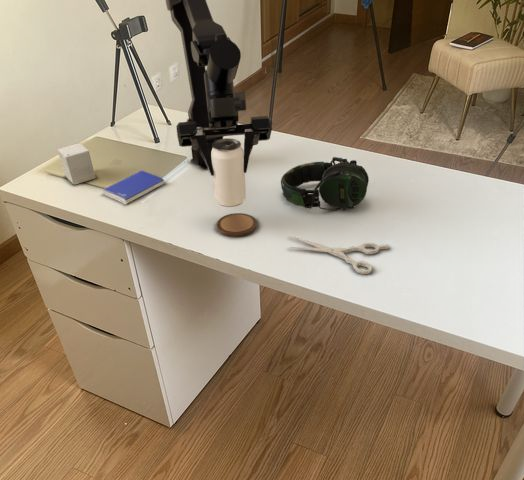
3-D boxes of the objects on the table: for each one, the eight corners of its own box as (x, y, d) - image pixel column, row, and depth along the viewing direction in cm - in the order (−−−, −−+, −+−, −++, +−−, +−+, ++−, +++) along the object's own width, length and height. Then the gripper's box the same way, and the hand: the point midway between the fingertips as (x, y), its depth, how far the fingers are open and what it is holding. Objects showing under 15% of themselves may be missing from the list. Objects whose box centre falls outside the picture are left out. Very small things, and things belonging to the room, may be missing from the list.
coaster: (240, 212, 121) (240, 208, 121) (265, 227, 116) (265, 223, 116) (209, 225, 117) (208, 222, 117) (233, 242, 112) (233, 238, 112)
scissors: (377, 273, 102) (279, 253, 107) (377, 277, 102) (279, 256, 108) (389, 244, 109) (296, 227, 114) (388, 247, 109) (296, 230, 115)
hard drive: (125, 198, 124) (163, 178, 131) (102, 188, 128) (141, 169, 134) (126, 204, 125) (164, 184, 132) (104, 194, 129) (142, 175, 136)
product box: (96, 178, 135) (89, 150, 130) (73, 185, 132) (65, 157, 127) (87, 170, 139) (80, 142, 133) (65, 176, 136) (56, 148, 131)
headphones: (371, 161, 125) (289, 167, 131) (366, 138, 112) (275, 146, 118) (369, 218, 125) (287, 221, 130) (364, 201, 112) (273, 206, 118)
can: (250, 194, 114) (247, 139, 105) (239, 209, 110) (235, 153, 101) (222, 190, 115) (217, 135, 107) (210, 205, 111) (204, 149, 103)
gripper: (170, 79, 98) (179, 163, 98) (270, 72, 100) (278, 155, 100) (175, 107, 109) (183, 182, 109) (265, 100, 111) (273, 175, 111)
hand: (228, 173), depth 107 cm, fingers closed on can, 6 cm apart
